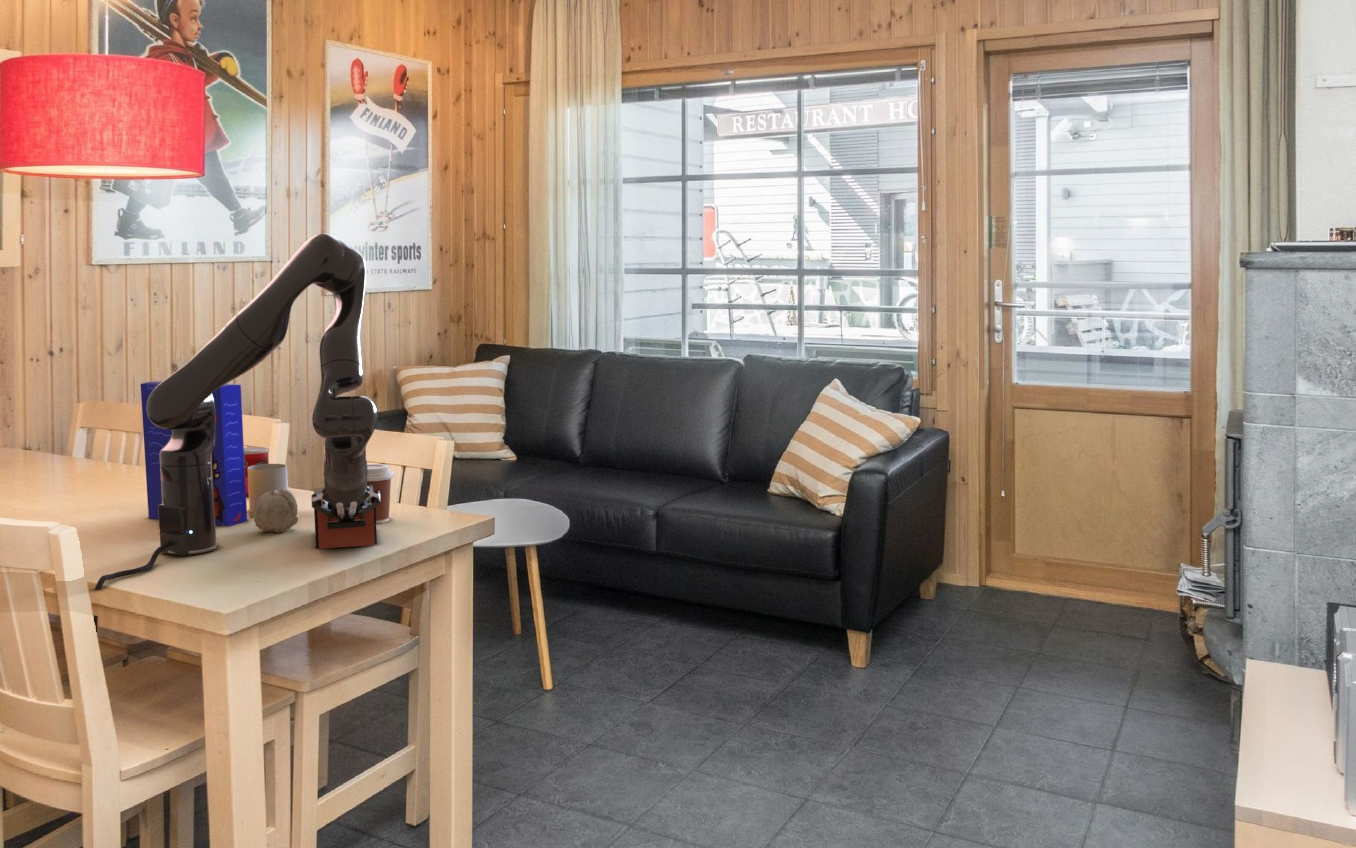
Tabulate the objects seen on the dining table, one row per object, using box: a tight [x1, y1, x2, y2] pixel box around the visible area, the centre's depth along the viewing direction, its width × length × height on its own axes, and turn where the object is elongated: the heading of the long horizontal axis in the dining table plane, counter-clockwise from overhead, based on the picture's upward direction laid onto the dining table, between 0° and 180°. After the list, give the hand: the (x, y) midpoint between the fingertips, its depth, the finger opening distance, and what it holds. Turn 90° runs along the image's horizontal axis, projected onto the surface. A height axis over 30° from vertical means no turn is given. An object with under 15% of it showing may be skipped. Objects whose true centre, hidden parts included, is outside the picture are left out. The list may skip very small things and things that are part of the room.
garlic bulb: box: [247, 488, 299, 534], centre depth 236 cm, size 9×8×10 cm
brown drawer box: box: [317, 506, 376, 550], centre depth 223 cm, size 17×10×8 cm, turn 18°
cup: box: [247, 463, 289, 514], centre depth 257 cm, size 8×8×10 cm
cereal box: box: [140, 380, 248, 527], centre depth 246 cm, size 22×6×30 cm, turn 70°
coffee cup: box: [367, 463, 395, 525], centre depth 246 cm, size 9×9×12 cm
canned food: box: [244, 446, 270, 497], centre depth 276 cm, size 8×8×11 cm
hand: (346, 524), depth 218 cm, fingers closed
